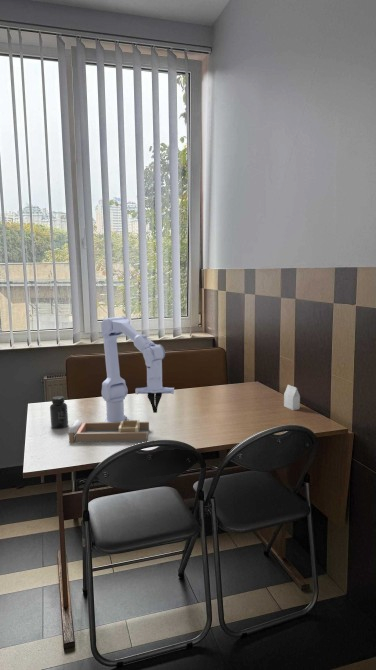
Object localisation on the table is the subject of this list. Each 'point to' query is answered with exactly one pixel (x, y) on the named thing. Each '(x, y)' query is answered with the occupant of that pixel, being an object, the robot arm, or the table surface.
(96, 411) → the table surface
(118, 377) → the robot arm
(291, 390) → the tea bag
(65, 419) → the supplement bottle
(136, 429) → the crate
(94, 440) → the bay
